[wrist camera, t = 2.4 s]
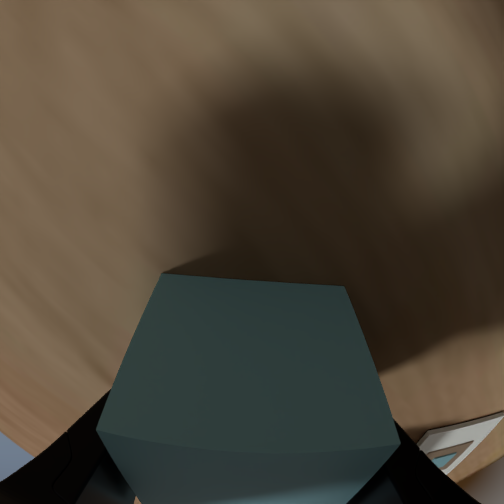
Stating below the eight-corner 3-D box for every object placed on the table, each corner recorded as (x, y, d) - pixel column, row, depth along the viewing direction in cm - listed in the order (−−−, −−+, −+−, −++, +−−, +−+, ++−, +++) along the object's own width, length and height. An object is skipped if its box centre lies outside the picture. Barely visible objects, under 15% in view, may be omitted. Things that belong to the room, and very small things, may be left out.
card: (502, 411, 13) (505, 417, 12) (442, 474, 17) (444, 479, 16) (427, 430, 13) (430, 438, 12) (373, 489, 16) (374, 495, 16)
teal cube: (344, 286, 9) (401, 443, 4) (310, 398, 11) (326, 521, 7) (161, 273, 9) (95, 429, 4) (174, 389, 11) (148, 513, 6)
